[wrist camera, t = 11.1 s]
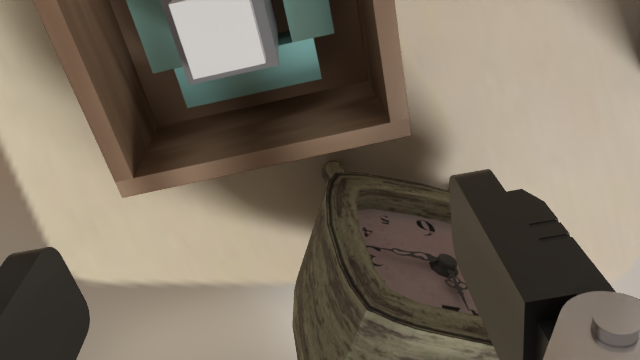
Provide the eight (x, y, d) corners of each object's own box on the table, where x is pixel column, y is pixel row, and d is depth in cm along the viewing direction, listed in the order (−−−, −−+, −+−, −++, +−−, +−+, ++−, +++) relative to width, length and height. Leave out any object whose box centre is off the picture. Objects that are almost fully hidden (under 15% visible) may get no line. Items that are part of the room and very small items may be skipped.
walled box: (341, -202, 27) (365, -233, 20) (383, 86, 35) (411, 135, 28) (44, -133, 28) (-31, -140, 21) (151, 137, 36) (122, 197, 29)
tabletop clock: (498, 180, 40) (776, 538, 18) (452, 273, 44) (632, 658, 22) (312, 138, 37) (374, 505, 15) (281, 242, 41) (294, 650, 19)
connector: (259, -54, 30) (254, -30, 21) (277, 21, 32) (279, 71, 23) (186, -37, 30) (151, -6, 21) (209, 36, 32) (186, 92, 23)
